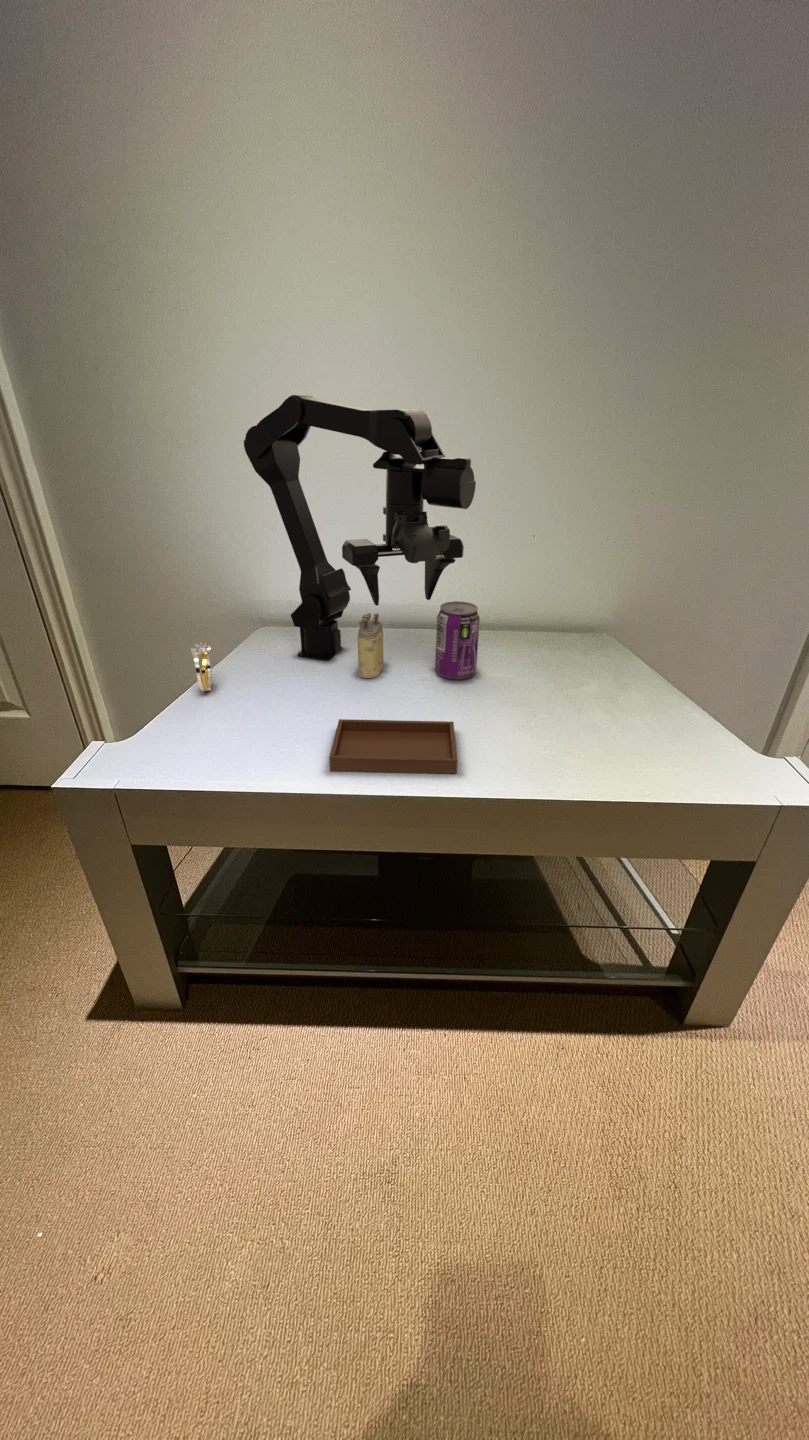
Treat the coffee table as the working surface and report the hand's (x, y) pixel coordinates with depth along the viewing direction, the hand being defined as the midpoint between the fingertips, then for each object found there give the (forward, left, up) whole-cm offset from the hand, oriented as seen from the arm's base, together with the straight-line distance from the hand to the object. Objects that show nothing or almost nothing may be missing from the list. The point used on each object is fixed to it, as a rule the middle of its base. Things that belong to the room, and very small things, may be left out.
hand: (402, 602), depth 98 cm
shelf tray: (+8, -25, -13) cm, 29 cm away
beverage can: (+9, +3, -13) cm, 16 cm away
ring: (-27, -18, -13) cm, 35 cm away
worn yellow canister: (-5, -1, -13) cm, 14 cm away
